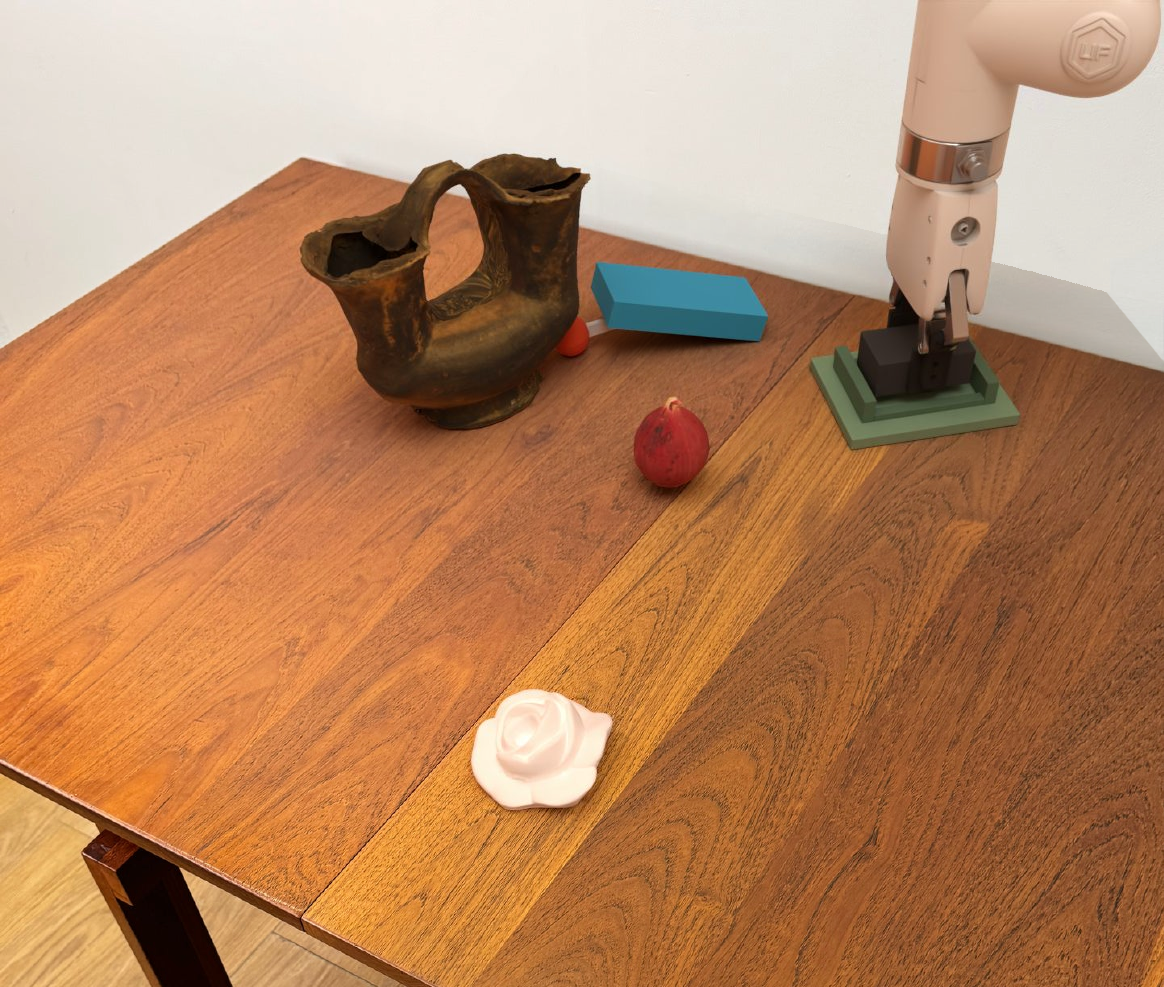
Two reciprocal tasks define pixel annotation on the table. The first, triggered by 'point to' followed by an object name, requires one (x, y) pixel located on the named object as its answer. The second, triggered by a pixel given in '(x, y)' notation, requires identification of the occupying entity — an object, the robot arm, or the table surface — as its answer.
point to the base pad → (909, 404)
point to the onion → (671, 445)
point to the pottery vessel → (460, 289)
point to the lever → (668, 305)
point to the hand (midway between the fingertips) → (913, 368)
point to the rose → (539, 751)
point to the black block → (904, 358)
